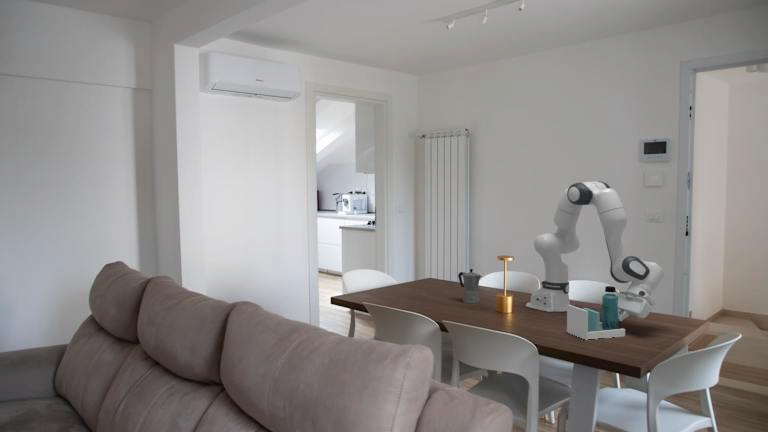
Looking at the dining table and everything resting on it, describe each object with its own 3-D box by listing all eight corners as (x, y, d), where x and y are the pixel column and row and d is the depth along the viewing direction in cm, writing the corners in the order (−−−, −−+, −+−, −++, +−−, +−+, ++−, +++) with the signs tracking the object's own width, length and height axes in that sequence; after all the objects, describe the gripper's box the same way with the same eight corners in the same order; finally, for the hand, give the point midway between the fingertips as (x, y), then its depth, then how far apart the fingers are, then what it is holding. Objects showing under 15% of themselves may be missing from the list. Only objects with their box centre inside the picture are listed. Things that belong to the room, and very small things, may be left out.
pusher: (585, 330, 227) (585, 307, 226) (599, 336, 218) (599, 312, 217) (582, 331, 226) (582, 308, 226) (596, 336, 217) (596, 312, 217)
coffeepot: (486, 302, 287) (486, 269, 286) (476, 304, 280) (476, 271, 279) (463, 298, 298) (463, 266, 297) (453, 300, 291) (453, 268, 290)
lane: (605, 328, 231) (605, 301, 231) (625, 336, 219) (625, 307, 219) (566, 332, 226) (567, 304, 226) (585, 340, 214) (585, 311, 214)
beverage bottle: (606, 329, 229) (606, 284, 228) (621, 333, 224) (621, 286, 223) (598, 332, 225) (598, 286, 224) (613, 336, 220) (613, 288, 219)
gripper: (615, 286, 236) (597, 309, 234) (650, 294, 217) (630, 320, 215) (623, 295, 238) (605, 318, 236) (659, 304, 218) (639, 330, 216)
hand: (617, 319), depth 225 cm, fingers closed, pressing on beverage bottle
